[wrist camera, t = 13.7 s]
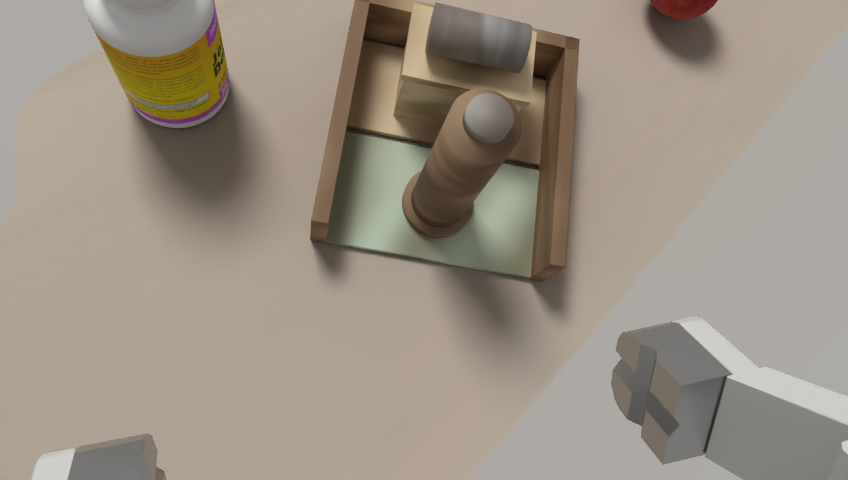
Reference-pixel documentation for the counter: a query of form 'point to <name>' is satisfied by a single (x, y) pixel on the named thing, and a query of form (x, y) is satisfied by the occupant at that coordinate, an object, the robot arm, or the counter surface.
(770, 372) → the robot arm
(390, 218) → the bay
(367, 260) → the counter surface
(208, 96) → the supplement bottle
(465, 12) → the block with grey roller
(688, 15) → the onion
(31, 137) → the counter surface
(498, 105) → the brown wooden pepper mill
